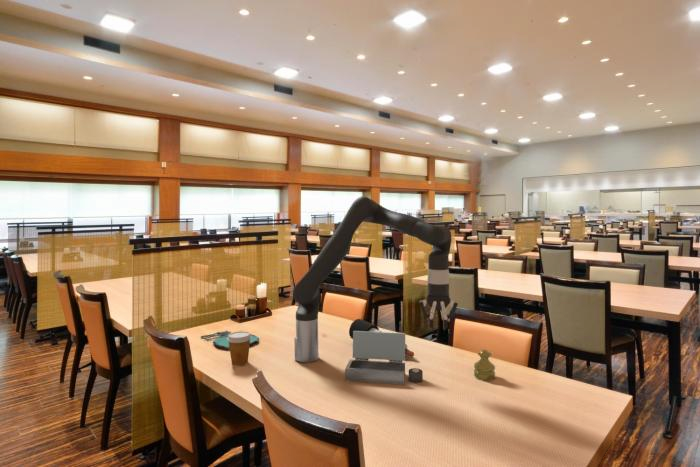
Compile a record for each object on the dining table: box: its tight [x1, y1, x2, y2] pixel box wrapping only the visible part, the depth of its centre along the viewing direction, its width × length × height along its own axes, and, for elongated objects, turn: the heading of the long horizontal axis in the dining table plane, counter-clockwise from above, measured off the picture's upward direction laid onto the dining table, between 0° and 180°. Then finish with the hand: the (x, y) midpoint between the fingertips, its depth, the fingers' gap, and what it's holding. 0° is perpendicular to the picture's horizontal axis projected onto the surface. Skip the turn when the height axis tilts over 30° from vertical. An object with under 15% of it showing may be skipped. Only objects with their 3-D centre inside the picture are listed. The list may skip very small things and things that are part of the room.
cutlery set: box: [200, 330, 260, 350], centre depth 191 cm, size 20×30×2 cm, turn 47°
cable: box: [348, 318, 415, 358], centre depth 176 cm, size 10×34×10 cm, turn 43°
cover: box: [352, 331, 406, 363], centre depth 152 cm, size 20×11×2 cm
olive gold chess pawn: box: [473, 349, 496, 381], centre depth 147 cm, size 7×7×10 cm
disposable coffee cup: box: [227, 330, 252, 367], centre depth 162 cm, size 10×10×12 cm
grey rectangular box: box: [344, 359, 406, 385], centre depth 147 cm, size 21×9×4 cm, turn 80°
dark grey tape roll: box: [408, 367, 424, 384], centre depth 145 cm, size 5×5×4 cm
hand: (438, 329), depth 142 cm, fingers open, 3 cm apart
